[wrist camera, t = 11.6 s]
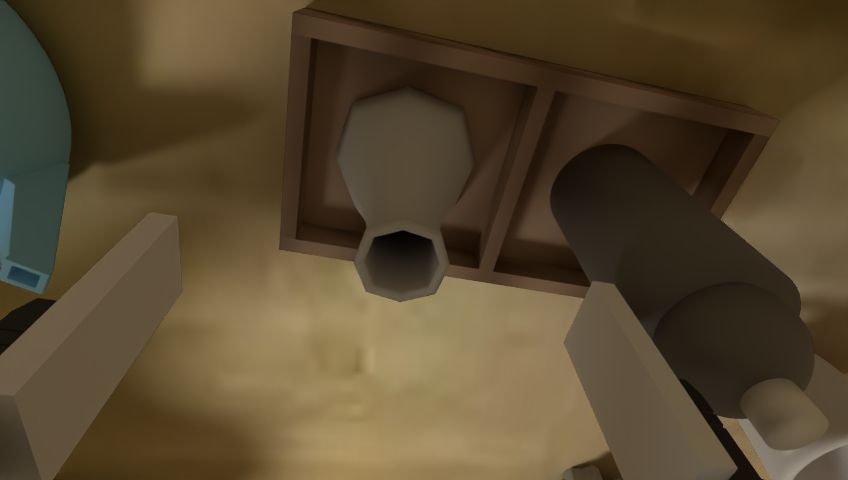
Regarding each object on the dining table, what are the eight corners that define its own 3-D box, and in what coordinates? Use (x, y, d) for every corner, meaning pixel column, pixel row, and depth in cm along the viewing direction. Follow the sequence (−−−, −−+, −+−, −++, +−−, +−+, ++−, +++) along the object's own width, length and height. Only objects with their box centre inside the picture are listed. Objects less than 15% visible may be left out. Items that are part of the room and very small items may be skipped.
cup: (657, 377, 34) (719, 483, 27) (742, 300, 30) (838, 400, 23) (760, 420, 37) (840, 526, 30) (849, 354, 33) (963, 457, 26)
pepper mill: (536, 228, 26) (654, 482, 14) (571, 134, 24) (762, 341, 11) (627, 244, 27) (821, 500, 14) (672, 154, 24) (965, 372, 11)
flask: (467, 220, 26) (494, 348, 17) (338, 215, 26) (300, 341, 17) (484, 88, 22) (528, 168, 14) (332, 80, 22) (281, 156, 13)
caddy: (289, 227, 27) (279, 249, 25) (304, 7, 21) (292, 12, 19) (646, 286, 29) (664, 311, 27) (748, 106, 24) (780, 120, 22)
